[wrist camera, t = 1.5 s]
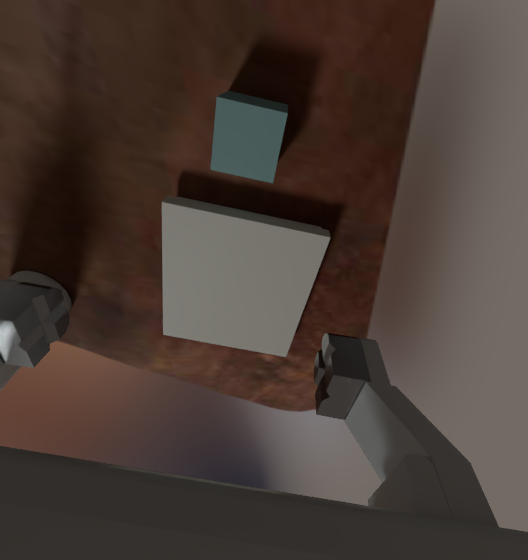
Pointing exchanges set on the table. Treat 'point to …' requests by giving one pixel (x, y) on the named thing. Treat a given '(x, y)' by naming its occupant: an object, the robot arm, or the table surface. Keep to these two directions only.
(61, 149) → the table surface
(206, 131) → the table surface
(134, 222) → the table surface
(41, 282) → the bottle
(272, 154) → the teal block
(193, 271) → the cream wooden base
